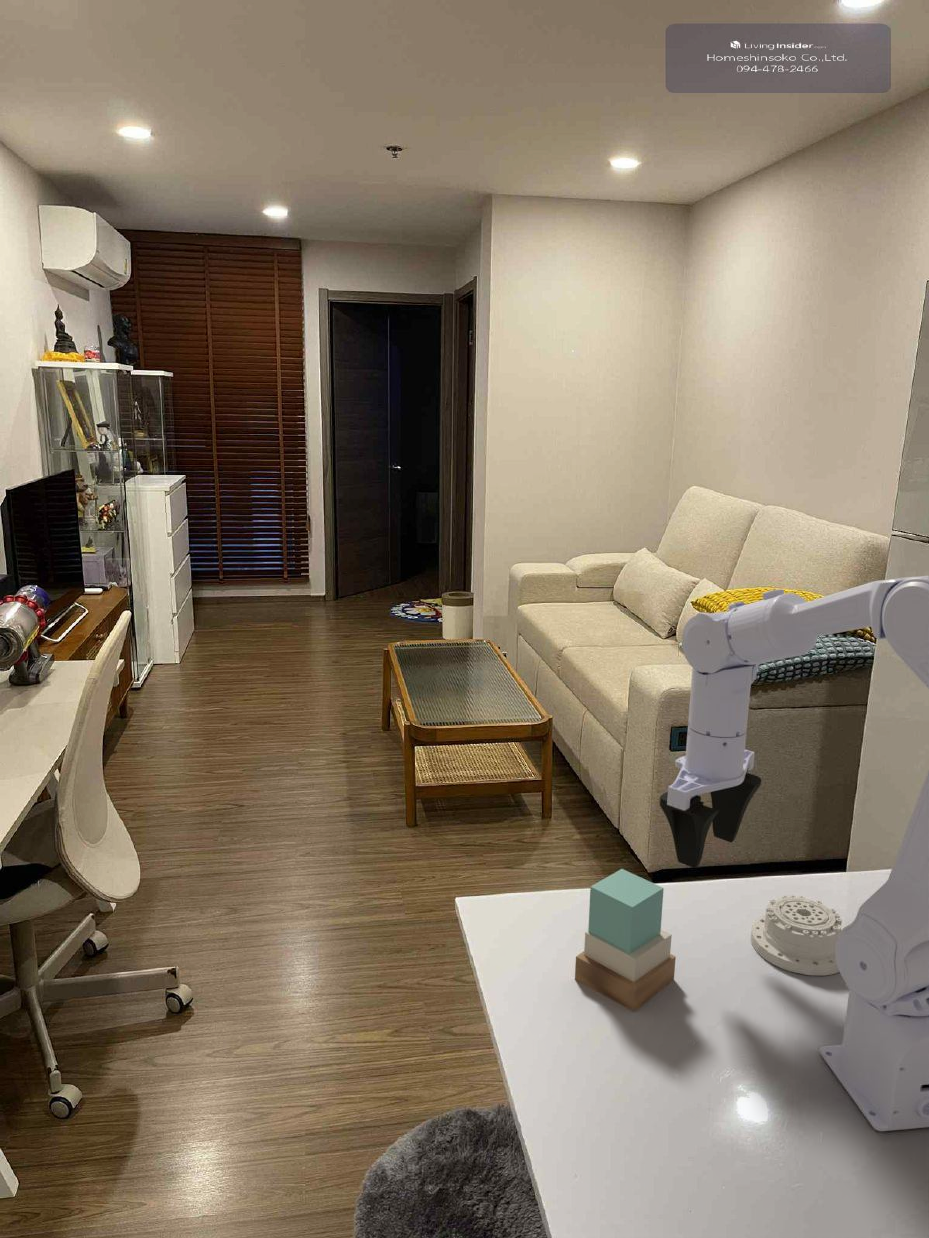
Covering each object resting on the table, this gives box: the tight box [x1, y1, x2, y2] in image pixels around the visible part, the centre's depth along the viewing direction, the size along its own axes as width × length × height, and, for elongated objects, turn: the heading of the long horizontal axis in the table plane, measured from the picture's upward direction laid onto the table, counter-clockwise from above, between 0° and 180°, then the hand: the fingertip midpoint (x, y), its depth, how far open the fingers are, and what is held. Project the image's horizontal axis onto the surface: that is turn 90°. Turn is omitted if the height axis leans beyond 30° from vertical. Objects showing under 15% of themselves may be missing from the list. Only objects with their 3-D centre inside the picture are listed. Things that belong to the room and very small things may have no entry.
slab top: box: [583, 928, 673, 982], centre depth 92 cm, size 6×6×2 cm
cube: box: [587, 868, 665, 954], centre depth 91 cm, size 5×5×5 cm
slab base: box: [574, 950, 677, 1013], centre depth 93 cm, size 7×7×3 cm
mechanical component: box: [750, 894, 843, 977], centre depth 98 cm, size 10×4×10 cm
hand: (706, 850), depth 97 cm, fingers open, 7 cm apart
